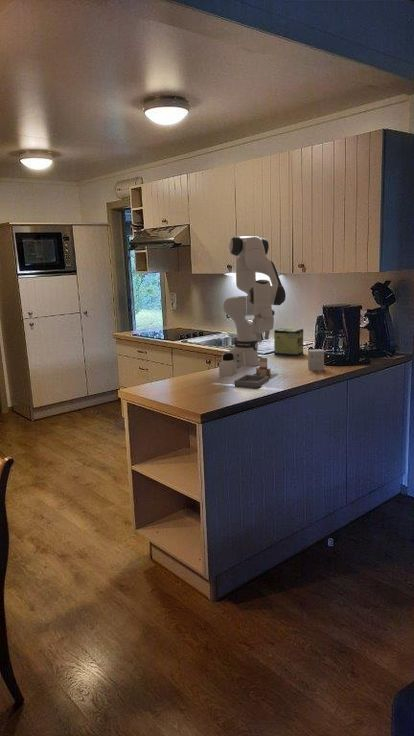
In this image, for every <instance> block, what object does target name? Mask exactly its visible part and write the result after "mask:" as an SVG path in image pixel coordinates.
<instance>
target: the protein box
mask: <svg viewBox="0 0 414 736" xmlns="http://www.w3.org/2000/svg"><path fill="white" fill-rule="evenodd" d="M273 331H274V332H273V333H274V338H273V340H274V342H273V343H274V349H273V351H274V352H273V353H274V356H287V357H298V356H301V355H303V354H304V329H303V328H283V327H281V328H278V329H275V330H273Z"/></svg>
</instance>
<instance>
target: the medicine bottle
mask: <svg viewBox="0 0 414 736" xmlns="http://www.w3.org/2000/svg"><path fill="white" fill-rule="evenodd" d="M233 361H234V360H233V354H232V353H227V352H224V353H222V354H221V362H222V363H221V362H219V363H218V373H219V376H220V377H219V378H221V377H224V376H225V377H226V376H227V377H233V376H235V375H237V373H238V372H237V371H238V370H237V368H238V367H237V364H236V362H233Z"/></svg>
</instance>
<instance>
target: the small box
mask: <svg viewBox="0 0 414 736" xmlns="http://www.w3.org/2000/svg"><path fill="white" fill-rule="evenodd" d="M307 368H308V371H325V350H324V349H320V348H318V349H317V348H316V349H308V350H307Z"/></svg>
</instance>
